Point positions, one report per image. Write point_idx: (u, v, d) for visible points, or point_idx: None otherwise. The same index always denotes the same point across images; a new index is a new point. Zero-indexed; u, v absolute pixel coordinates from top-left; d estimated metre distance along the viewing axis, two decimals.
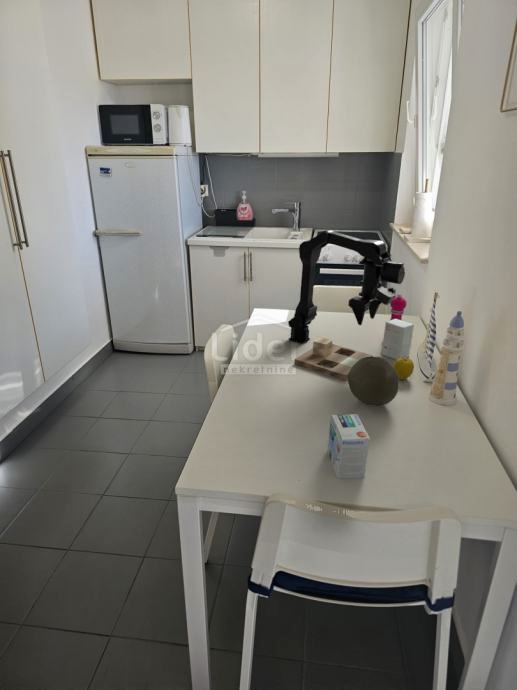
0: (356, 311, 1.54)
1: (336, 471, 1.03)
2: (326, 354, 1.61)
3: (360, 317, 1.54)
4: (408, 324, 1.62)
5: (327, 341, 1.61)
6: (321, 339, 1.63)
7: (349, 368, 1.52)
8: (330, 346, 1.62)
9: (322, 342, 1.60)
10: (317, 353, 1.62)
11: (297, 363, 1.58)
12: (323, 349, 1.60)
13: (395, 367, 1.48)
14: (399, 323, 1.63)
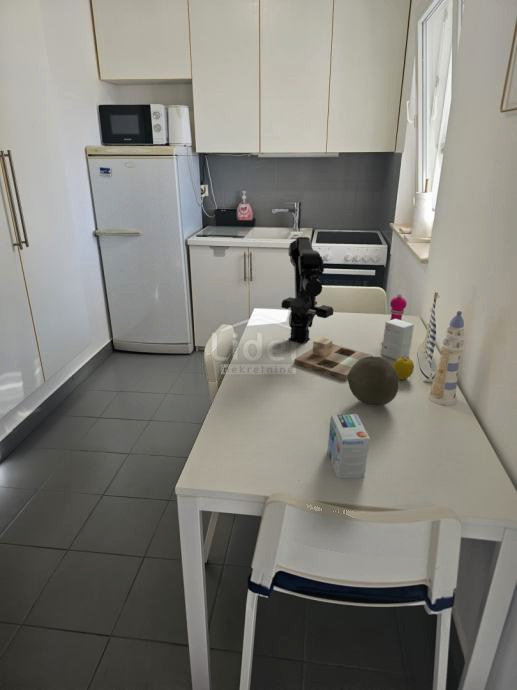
0: None
1: (336, 471, 1.03)
2: (326, 354, 1.61)
3: None
4: (408, 324, 1.62)
5: (327, 341, 1.61)
6: (321, 339, 1.63)
7: (349, 368, 1.52)
8: (330, 346, 1.62)
9: (322, 342, 1.60)
10: (317, 353, 1.62)
11: (297, 363, 1.58)
12: (323, 349, 1.60)
13: (395, 367, 1.48)
14: (399, 323, 1.63)
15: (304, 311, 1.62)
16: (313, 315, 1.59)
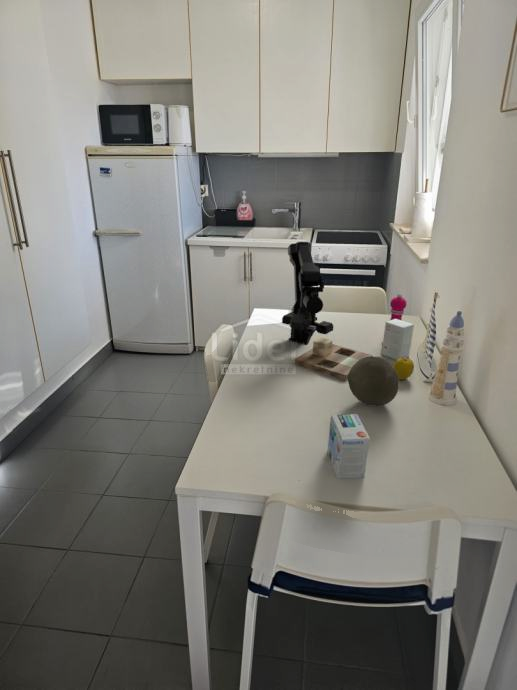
0: None
1: (336, 471, 1.03)
2: (326, 354, 1.61)
3: None
4: (408, 324, 1.62)
5: (327, 341, 1.61)
6: (321, 339, 1.63)
7: (349, 368, 1.52)
8: (330, 346, 1.62)
9: (322, 342, 1.60)
10: (317, 353, 1.62)
11: (297, 363, 1.58)
12: (323, 349, 1.60)
13: (395, 367, 1.48)
14: (399, 323, 1.63)
15: (304, 327, 1.64)
16: (313, 331, 1.61)
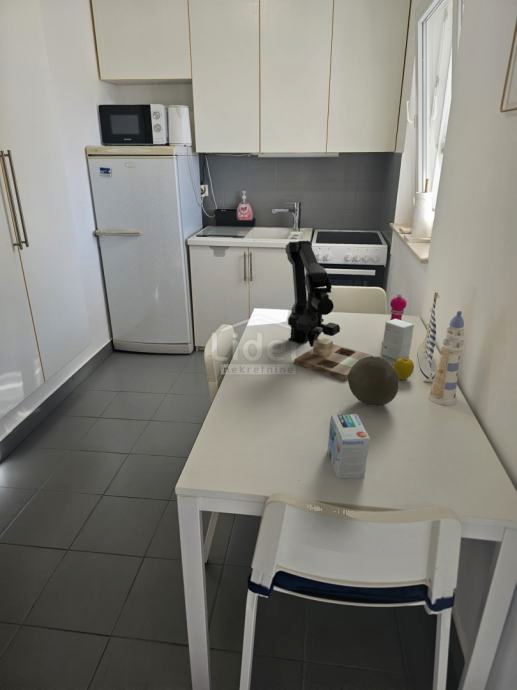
0: None
1: (336, 471, 1.03)
2: (326, 354, 1.61)
3: None
4: (408, 324, 1.62)
5: (327, 341, 1.61)
6: (321, 339, 1.63)
7: (349, 368, 1.52)
8: (330, 346, 1.62)
9: (322, 342, 1.60)
10: (317, 353, 1.62)
11: (297, 363, 1.58)
12: (323, 349, 1.59)
13: (395, 367, 1.48)
14: (399, 323, 1.63)
15: (311, 328, 1.63)
16: (319, 332, 1.60)
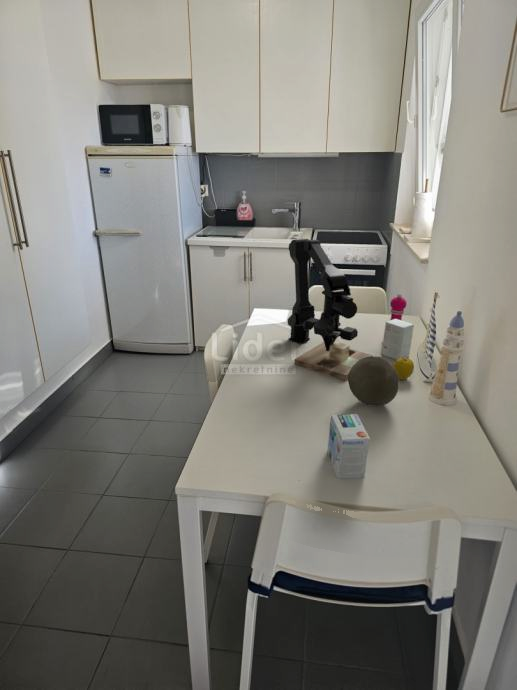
0: None
1: (336, 471, 1.03)
2: (343, 359, 1.57)
3: None
4: (408, 324, 1.62)
5: (344, 346, 1.57)
6: (338, 344, 1.59)
7: (349, 368, 1.52)
8: (347, 351, 1.58)
9: (339, 347, 1.56)
10: (334, 358, 1.58)
11: (297, 363, 1.58)
12: (340, 354, 1.56)
13: (395, 367, 1.48)
14: (399, 323, 1.63)
15: (327, 332, 1.59)
16: (336, 337, 1.56)
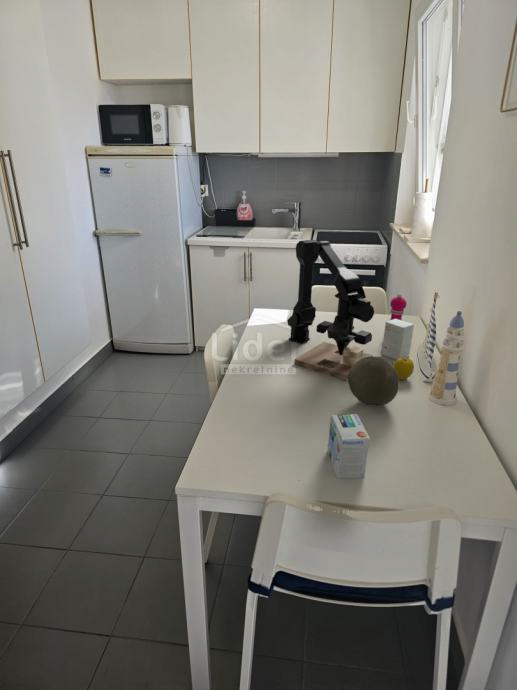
0: None
1: (336, 471, 1.03)
2: None
3: None
4: (408, 324, 1.62)
5: (358, 350, 1.54)
6: (352, 347, 1.56)
7: (349, 368, 1.52)
8: (361, 355, 1.55)
9: (353, 351, 1.53)
10: (348, 362, 1.55)
11: (297, 363, 1.58)
12: (354, 358, 1.53)
13: (395, 367, 1.48)
14: (399, 323, 1.63)
15: None
16: (350, 341, 1.53)
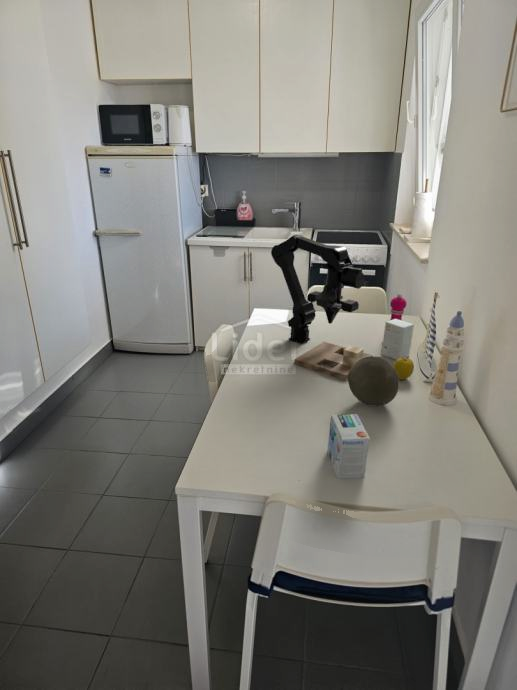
0: None
1: (336, 471, 1.03)
2: None
3: None
4: (408, 324, 1.62)
5: (358, 350, 1.54)
6: (352, 347, 1.56)
7: (349, 368, 1.52)
8: (361, 355, 1.55)
9: (353, 351, 1.53)
10: (348, 362, 1.55)
11: (297, 363, 1.58)
12: (354, 358, 1.53)
13: (395, 367, 1.48)
14: (399, 323, 1.63)
15: (329, 305, 1.65)
16: (338, 309, 1.62)
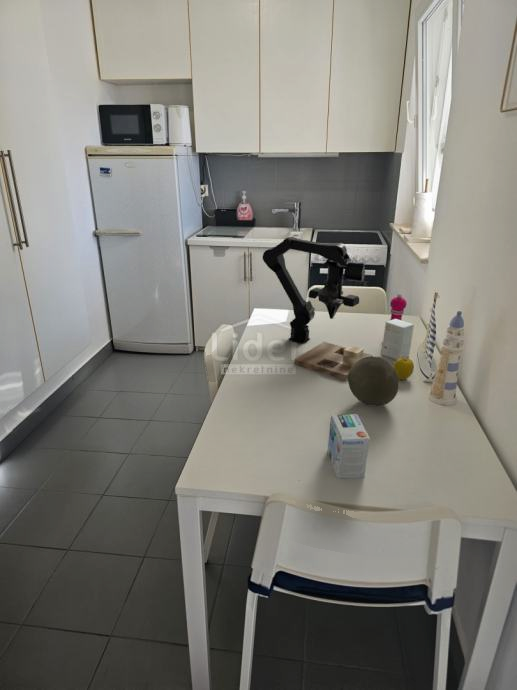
0: None
1: (336, 471, 1.03)
2: None
3: None
4: (408, 324, 1.62)
5: (358, 350, 1.54)
6: (352, 347, 1.56)
7: (349, 368, 1.52)
8: (361, 355, 1.55)
9: (353, 351, 1.53)
10: (348, 362, 1.55)
11: (297, 363, 1.58)
12: (354, 358, 1.53)
13: (395, 367, 1.48)
14: (399, 323, 1.63)
15: (330, 300, 1.69)
16: (340, 304, 1.66)
